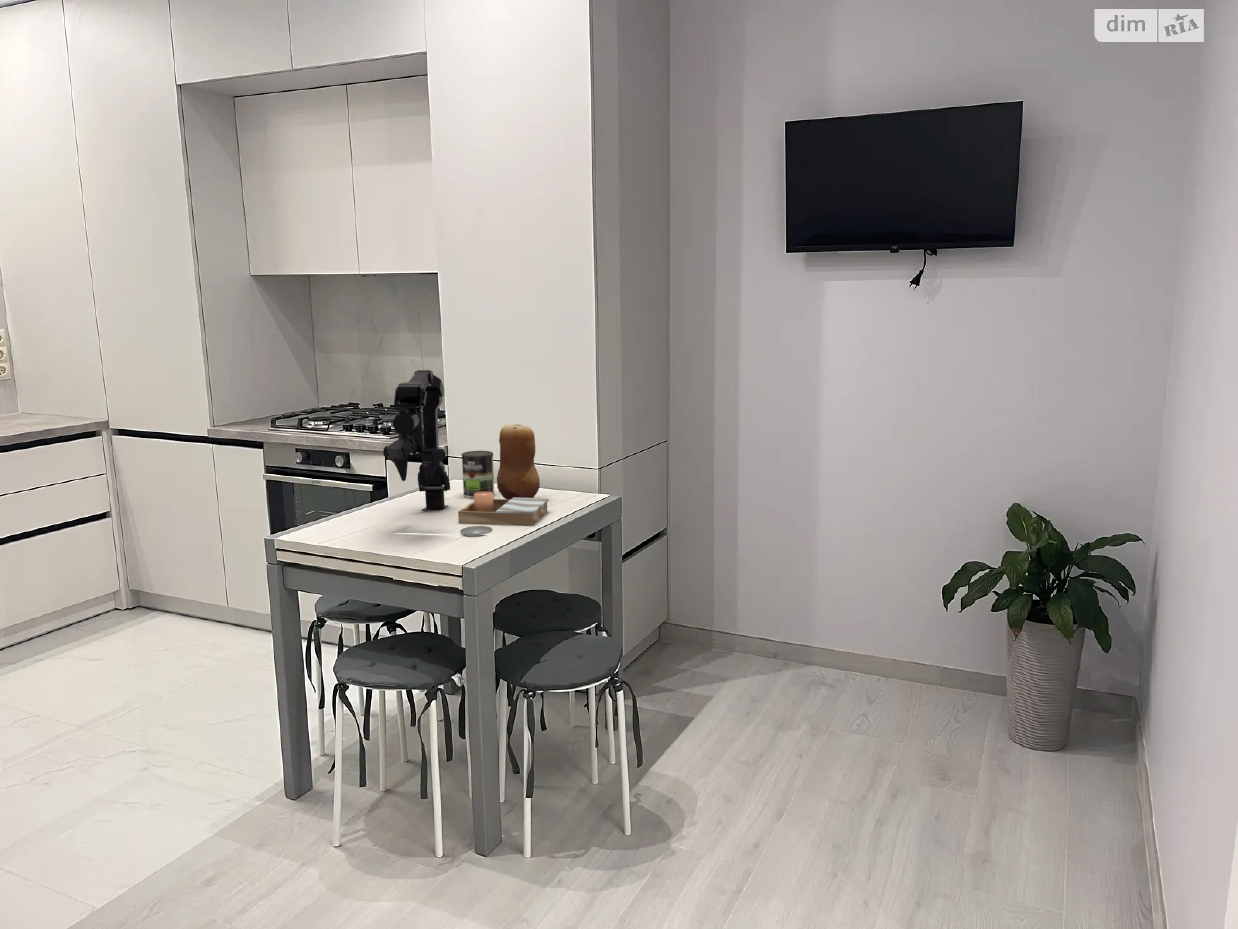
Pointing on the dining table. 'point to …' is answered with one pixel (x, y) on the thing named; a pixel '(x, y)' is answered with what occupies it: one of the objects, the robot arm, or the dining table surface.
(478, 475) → the coffee can
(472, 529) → the saucer
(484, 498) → the tan cylinder
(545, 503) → the box
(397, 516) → the dining table surface
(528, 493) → the butternut squash
